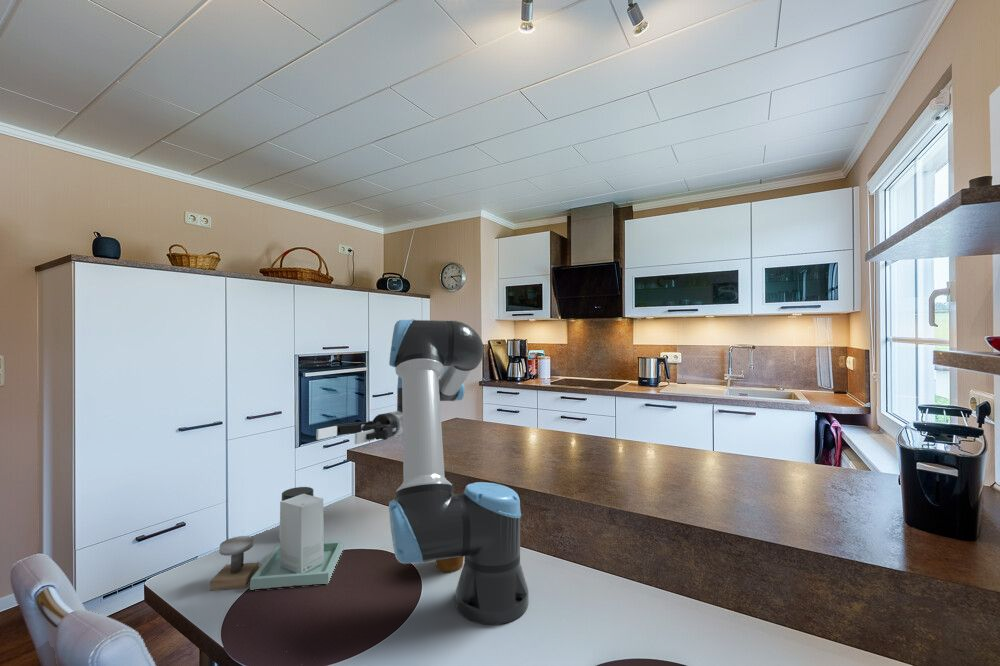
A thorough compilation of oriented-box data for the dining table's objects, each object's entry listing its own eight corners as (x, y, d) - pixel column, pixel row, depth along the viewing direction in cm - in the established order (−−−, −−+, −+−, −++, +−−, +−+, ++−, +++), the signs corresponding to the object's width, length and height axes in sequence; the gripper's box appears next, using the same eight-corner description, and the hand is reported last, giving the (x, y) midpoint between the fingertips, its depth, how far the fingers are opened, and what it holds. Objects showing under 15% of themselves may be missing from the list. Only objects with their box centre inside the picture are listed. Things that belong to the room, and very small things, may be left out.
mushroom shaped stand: (245, 587, 90) (246, 548, 90) (210, 590, 89) (211, 550, 89) (258, 570, 97) (259, 534, 97) (225, 573, 95) (227, 536, 96)
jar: (283, 544, 110) (285, 498, 111) (274, 534, 116) (276, 491, 117) (318, 534, 116) (319, 491, 117) (308, 525, 122) (309, 484, 123)
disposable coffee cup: (475, 560, 102) (476, 510, 103) (458, 579, 93) (458, 525, 94) (442, 553, 106) (442, 505, 106) (422, 571, 97) (422, 519, 97)
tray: (328, 584, 91) (328, 573, 91) (249, 590, 88) (250, 579, 89) (343, 550, 107) (343, 540, 107) (277, 555, 104) (277, 545, 104)
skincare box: (324, 564, 99) (326, 498, 99) (298, 577, 93) (300, 507, 94) (302, 555, 103) (304, 492, 104) (277, 567, 97) (279, 500, 98)
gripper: (422, 440, 122) (372, 455, 103) (358, 434, 132) (302, 446, 113) (422, 415, 123) (373, 425, 103) (358, 410, 133) (302, 419, 114)
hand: (336, 436), depth 108 cm, fingers open, 13 cm apart
